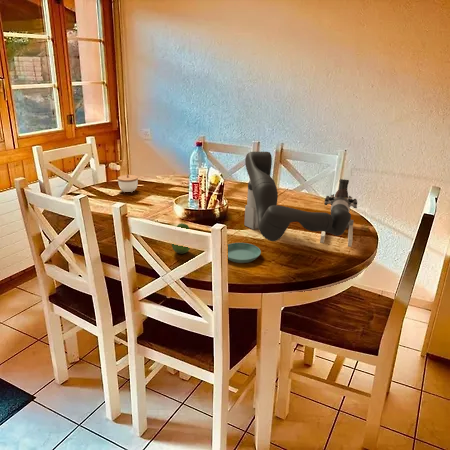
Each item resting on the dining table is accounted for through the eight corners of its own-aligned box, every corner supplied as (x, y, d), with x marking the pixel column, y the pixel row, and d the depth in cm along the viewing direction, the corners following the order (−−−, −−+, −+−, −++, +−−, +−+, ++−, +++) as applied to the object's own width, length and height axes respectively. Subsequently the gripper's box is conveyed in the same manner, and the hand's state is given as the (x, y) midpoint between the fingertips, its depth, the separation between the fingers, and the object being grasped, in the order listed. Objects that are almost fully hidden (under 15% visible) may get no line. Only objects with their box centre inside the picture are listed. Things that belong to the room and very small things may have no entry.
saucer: (221, 265, 151) (221, 259, 150) (221, 248, 164) (221, 242, 163) (262, 266, 151) (262, 259, 150) (258, 248, 165) (259, 242, 164)
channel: (351, 246, 168) (353, 235, 166) (320, 242, 171) (321, 231, 169) (352, 230, 184) (353, 219, 182) (323, 227, 187) (324, 216, 185)
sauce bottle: (337, 224, 185) (344, 179, 182) (327, 221, 190) (333, 178, 187) (348, 224, 188) (354, 180, 185) (337, 221, 194) (343, 178, 190)
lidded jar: (122, 187, 236) (121, 171, 233) (141, 188, 235) (140, 172, 232) (115, 193, 226) (114, 176, 223) (134, 194, 225) (133, 177, 222)
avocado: (193, 256, 157) (193, 226, 152) (172, 257, 155) (171, 227, 151) (190, 247, 164) (190, 218, 160) (170, 248, 162) (169, 220, 158)
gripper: (321, 214, 178) (324, 203, 193) (356, 218, 174) (356, 206, 189) (323, 198, 175) (326, 187, 190) (359, 201, 171) (359, 190, 186)
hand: (341, 197), depth 190 cm, fingers open, 6 cm apart
